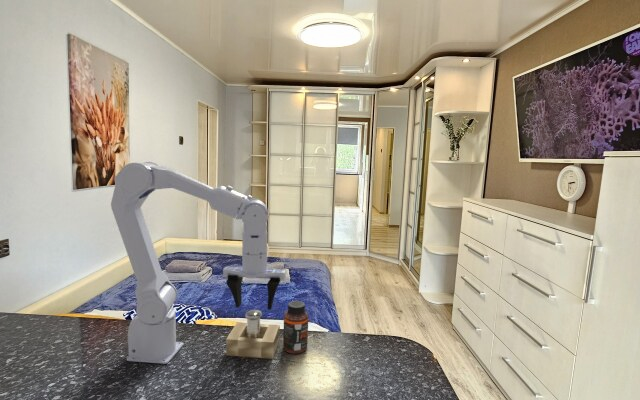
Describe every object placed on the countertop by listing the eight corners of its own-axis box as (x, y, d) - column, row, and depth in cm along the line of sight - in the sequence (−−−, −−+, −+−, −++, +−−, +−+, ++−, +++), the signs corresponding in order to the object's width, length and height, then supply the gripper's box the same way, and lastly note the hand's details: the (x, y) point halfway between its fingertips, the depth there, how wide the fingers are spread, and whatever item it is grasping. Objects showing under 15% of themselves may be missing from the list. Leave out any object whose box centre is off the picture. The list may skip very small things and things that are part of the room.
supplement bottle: (304, 356, 78) (305, 310, 77) (279, 353, 79) (280, 307, 78) (309, 343, 84) (311, 300, 82) (287, 339, 85) (288, 297, 84)
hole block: (226, 355, 77) (226, 339, 77) (237, 337, 85) (237, 322, 85) (272, 358, 77) (273, 342, 76) (279, 340, 85) (279, 325, 84)
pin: (243, 352, 79) (243, 316, 78) (248, 344, 82) (248, 309, 81) (259, 354, 78) (259, 317, 77) (263, 345, 82) (263, 310, 81)
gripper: (218, 254, 75) (218, 312, 76) (282, 258, 74) (281, 316, 75) (228, 246, 82) (228, 299, 83) (287, 249, 81) (286, 303, 82)
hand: (254, 306), depth 80 cm, fingers open, 7 cm apart
